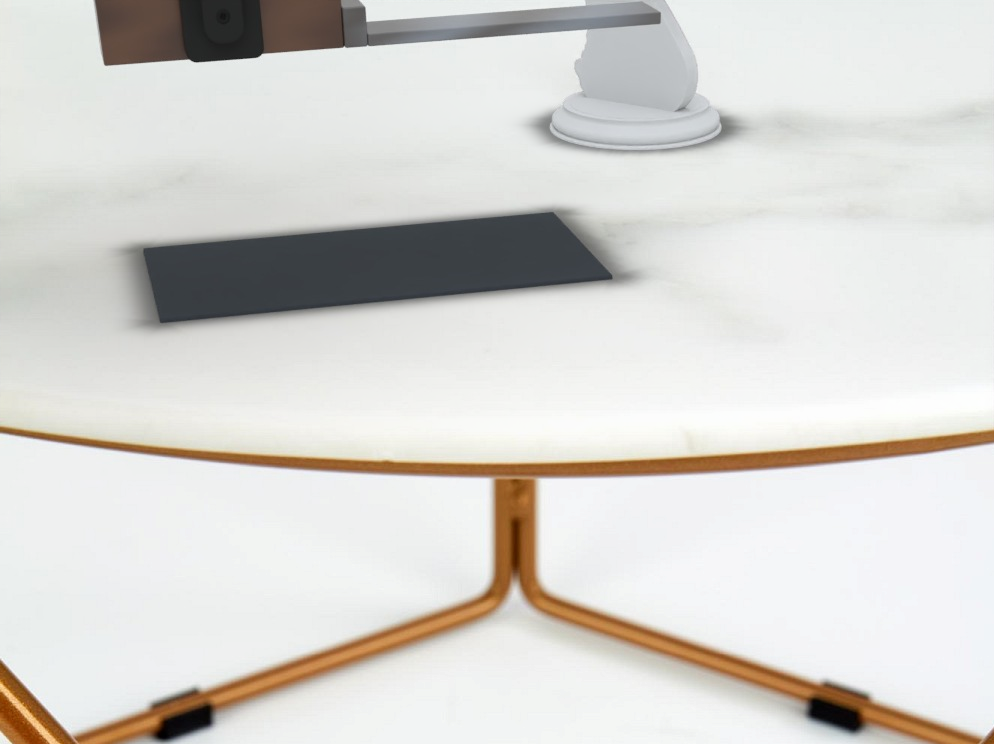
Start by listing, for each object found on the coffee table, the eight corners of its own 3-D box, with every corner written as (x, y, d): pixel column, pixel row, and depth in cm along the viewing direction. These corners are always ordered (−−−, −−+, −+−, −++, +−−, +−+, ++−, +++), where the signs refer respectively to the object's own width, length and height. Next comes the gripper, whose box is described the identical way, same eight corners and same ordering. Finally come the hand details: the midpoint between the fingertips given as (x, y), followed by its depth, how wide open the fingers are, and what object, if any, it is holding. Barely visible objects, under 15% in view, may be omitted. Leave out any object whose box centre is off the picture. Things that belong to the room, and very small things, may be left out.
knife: (104, 67, 70) (93, -7, 69) (100, 53, 72) (90, -18, 71) (661, 24, 75) (663, -46, 73) (642, 13, 77) (644, -56, 75)
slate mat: (161, 332, 73) (159, 318, 72) (144, 260, 81) (143, 247, 80) (612, 288, 77) (612, 275, 76) (553, 223, 85) (553, 211, 84)
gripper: (51, -476, 68) (119, 20, 78) (66, -497, 55) (145, 102, 65) (240, -479, 69) (283, 9, 79) (299, -501, 56) (341, 86, 66)
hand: (220, 46), depth 72 cm, fingers closed on knife, 2 cm apart
